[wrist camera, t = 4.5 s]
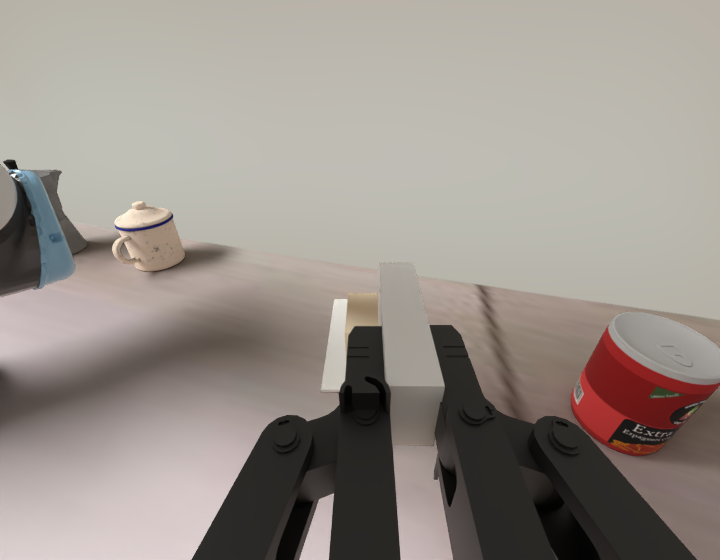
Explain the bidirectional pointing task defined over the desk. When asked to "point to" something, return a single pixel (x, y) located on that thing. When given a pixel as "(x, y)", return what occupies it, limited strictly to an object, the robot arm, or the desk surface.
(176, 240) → the teacup with lid
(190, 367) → the desk surface
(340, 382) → the mat
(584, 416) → the canned food
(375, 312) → the block
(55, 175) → the coffeepot
